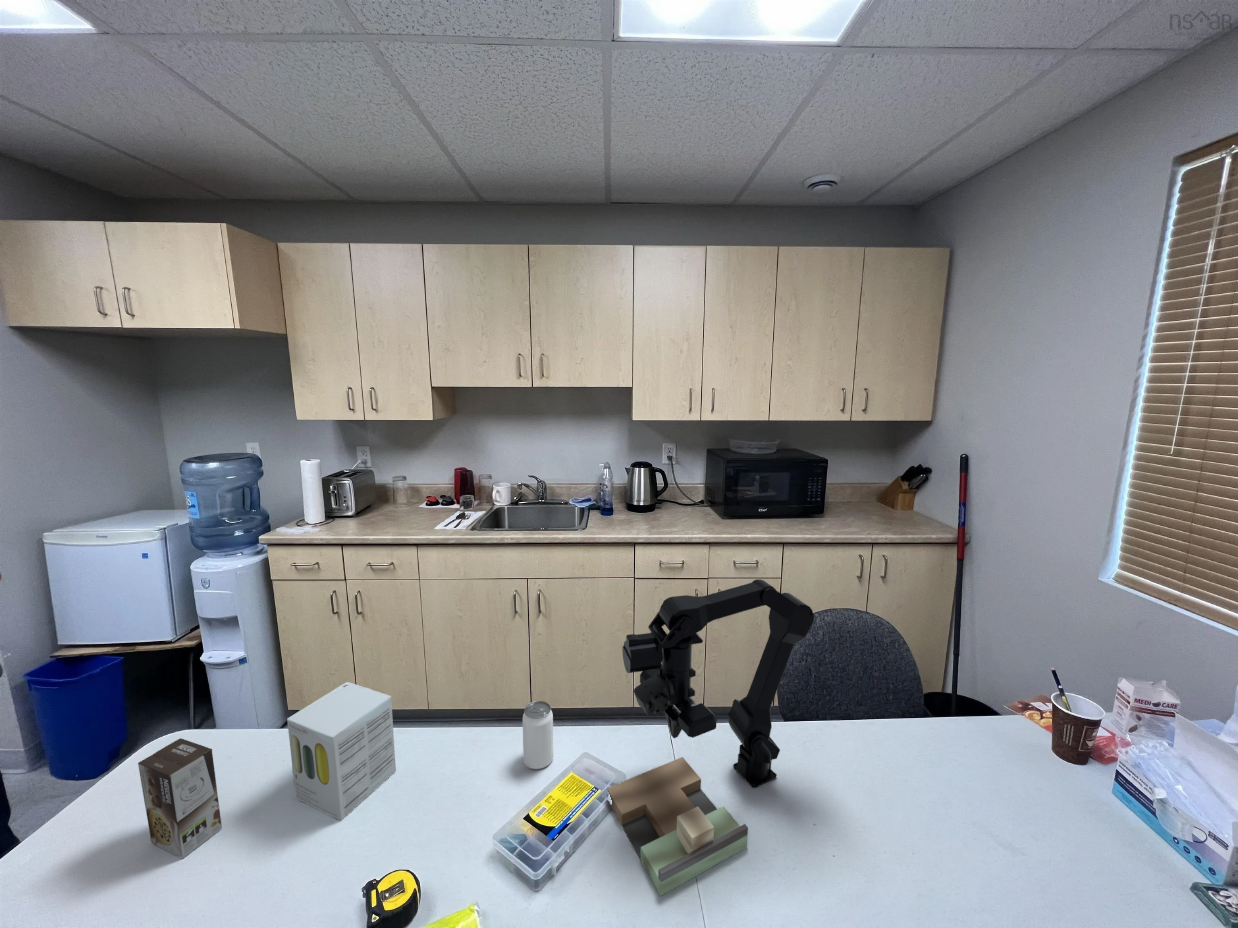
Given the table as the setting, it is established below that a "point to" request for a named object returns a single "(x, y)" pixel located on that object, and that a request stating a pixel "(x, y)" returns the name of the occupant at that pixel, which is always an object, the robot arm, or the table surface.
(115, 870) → the table surface
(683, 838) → the maple block
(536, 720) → the can
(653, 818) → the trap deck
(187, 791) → the coffee box
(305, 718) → the supplement box
